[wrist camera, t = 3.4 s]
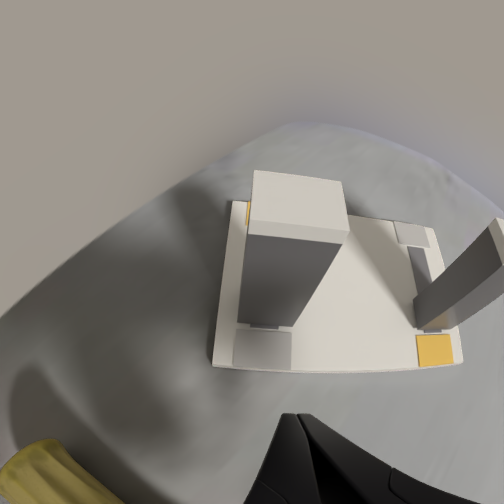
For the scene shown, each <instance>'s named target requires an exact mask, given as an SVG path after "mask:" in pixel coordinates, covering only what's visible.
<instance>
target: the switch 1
mask: <svg viewBox="0 0 504 504" xmlns="http://www.w3.org/2000/svg"><path fill="white" fill-rule="evenodd" d="M349 232H350V228H349V222H348V216H347V210H346V205H345V199H344V194H343V189H342V184H341V182H339V181H333V180H327V179H320V178H313V177H306V176H299V175H292V174H284V173H276V172H268V171H259V170H254V176H253V184H252V193H251V201H250V209H249V217H248V225H247V234H246V242H245V250H244V259H243V267H242V276H241V284H240V294H239V305H238V316H237V323H248V324H259V325H272V326H285V327H293V325H294V324H295V322H296V321H297V319H298V318H299V316H300V315H301V313H302V311H303V310H304V308H305V307H306V305H307V303H308V302H309V300H310V299H311V297H312V295H313V294H314V292H315V290H316V289H317V287H318V285H319V284H320V282H321V280H322V279H323V277H324V275H325V274H326V272H327V270H328V269H329V267H330V265H331V264H332V262H333V260H334V258H335V257H336V255H337V253H338V252H339V250H340V248H341V246H342V245H343V243H344V241H345V239H346V237H347V236H348V234H349Z"/></svg>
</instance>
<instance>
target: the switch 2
mask: <svg viewBox="0 0 504 504" xmlns="http://www.w3.org/2000/svg"><path fill="white" fill-rule="evenodd" d="M503 293H504V220H503V219H499V218H495V219H494V220H493V221H492V222H491V223H490V225H489V226H488V227H487V228H486V229H485V230H484V231H483V232H482V233H481V234H480V235H479V237H478V238H477V239H476V240H475V241H474V242H473V243H472V244H471V245H470V246H469V247H468V248H467V249H466V250H465V251H464V252H463V253H462V254H461V255H460V256H459V257H458V258H457V259H456V260H455V261H454V262H453V263H452V264H451V265H450V266H449V267H448V268H447V269H446V270H445V271H444V272H443V273H442V274H441V275H439V276H438V277H437V278H436V279H435V280H434V281H433V282H432V283H431V284H430V285H428V286H427V287H426V288H425V289H424V290H423V291H422V292H421V293H419V294H418V295H417V296H416V297H415V298H414V299H413V305H414V311H415V318H416V324H417V330H448V329H452V328H454V327H455V326H457V325H458V324H460V323H461V322H463V321H465V320H466V319H468V318H469V317H471V316H472V315H474V314H475V313H477V312H478V311H479V310H481V309H482V308H484V307H485V306H487V305H488V304H489V303H491V302H492V301H494V300H495V299H496V298H498V297H499V296H500V295H502V294H503Z"/></svg>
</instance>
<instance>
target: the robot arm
mask: <svg viewBox="0 0 504 504" xmlns="http://www.w3.org/2000/svg"><path fill="white" fill-rule="evenodd" d="M243 504H480V503H477V502H474V501H470V500H467V499H464V498H461V497H458V496H456V495H453V494H450V493H447V492H444V491H442V490H439V489H437V488H434V487H432V486H429V485H427V484H425V483H422V482H420V481H418V480H416V479H414V478H412V477H410V476H408V475H406V474H404V473H403V472H401V471H399V470H397V469H396V468H392V467H391V466H390V465H388V464H386V463H384V462H383V461H381V460H379V459H378V458H376V457H375V456H373V455H371V454H370V453H368V452H366V451H365V450H363V449H362V448H360V447H359V446H357V445H355V444H354V443H352V442H351V441H349V440H348V439H346V438H345V437H343V436H342V435H340V434H339V433H337V432H336V431H334V430H333V429H331V428H330V427H328V426H327V425H325V424H324V423H322V422H321V421H320V420H318V419H317V418H315V417H314V416H313V415H311V414H297V415H296V414H292V413H283V414H282V415H281V418H280V420H279V423H278V425H277V428H276V431H275V433H274V436H273V438H272V441H271V443H270V446H269V448H268V451H267V453H266V456H265V458H264V461H263V463H262V465H261V468H260V470H259V472H258V475H257V477H256V480H255V481H254V483H253V486H252V488H251V490H250V492H249V494H248V496H247V498H246V500H245V501H244V503H243Z"/></svg>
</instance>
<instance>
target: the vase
mask: <svg viewBox="0 0 504 504" xmlns="http://www.w3.org/2000/svg"><path fill="white" fill-rule="evenodd" d="M0 494H1V495H2V496H3V497H4V498H5V499H6V500H7V501H8V502H9V503H11V504H125V503H124V502H123V501H121V500H120V499H119V498H118V497H116V496H115V495H114V494H113V493H112V492H111V491H109V490H108V489H107V488H106V487H105V486H103V485H102V484H101V483H100V482H99V481H98V480H96V479H95V478H94V477H93V476H92V475H91V474H89V473H88V472H87V471H86V470H85V469H84V468H82V467H81V466H80V465H79V464H78V463H77V462H76V461H75V460H74V459H73V458H72V457H71V456H70V455H69V453H68V452H67V451H66V449H65V448H64V446H63V445H62V443H61V442H60V441H58V440H56V439H43V440H39V441H36V442H34V443H32V444H30V445H28V446H26V447H25V448H23V449H21V450H20V451H19V452H17V453H16V454H15V455H14V456H13V457H12V458H11V459H10V460H9V461H8V462H7V463H6V464H5V465H4V466H3V467H2V469H1V471H0Z"/></svg>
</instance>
